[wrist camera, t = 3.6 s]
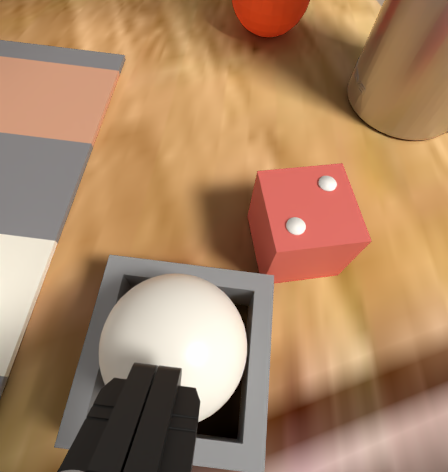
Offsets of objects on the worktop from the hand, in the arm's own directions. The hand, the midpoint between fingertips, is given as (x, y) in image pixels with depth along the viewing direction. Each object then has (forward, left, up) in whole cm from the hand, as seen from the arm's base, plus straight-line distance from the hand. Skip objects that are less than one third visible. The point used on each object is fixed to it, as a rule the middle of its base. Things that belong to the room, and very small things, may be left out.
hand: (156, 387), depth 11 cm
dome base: (0, -2, -8) cm, 9 cm away
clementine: (-3, -33, -9) cm, 34 cm away
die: (-6, -10, -8) cm, 14 cm away
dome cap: (0, -2, -7) cm, 7 cm away
